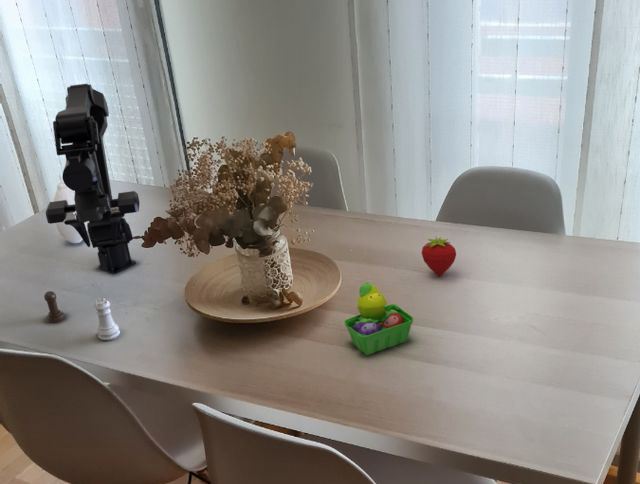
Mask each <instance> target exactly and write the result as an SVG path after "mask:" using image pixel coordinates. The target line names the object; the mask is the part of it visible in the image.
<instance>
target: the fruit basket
mask: <svg viewBox="0 0 640 484" xmlns="http://www.w3.org/2000/svg"><path fill="white" fill-rule="evenodd" d="M387 303H388V302H387V299H386V297H385V296H384V295H383V294H382V293H381V292H380V290H379V288H378V287H377V286H376V285H374V284H371V283H369V282H364V284H361V285H360V286H359V295H358V298H357V305H356V306H357V310H358V313H359V314H357V315H355V316H352V317H350V318H346V319H345V320H343V323H344V326H345V327H346V328H347V330H348V334H349V337H350V339H351V342H352V344H353V345H354V346H355V347H356V348H357V349H358V350H359V351H361V352H362V353H364V355H365V356H370V355H372V354H374V353H376V352H380V351H383V350H386V349H387V348H393V347H394V346H397V345H399V344H403V343H406V342H407V341H408V338H409V333H410V330H411V327H412V325H413V322H414V317H413V316H412V315H411V314H409V313H408V312H407V311H405V310H404V309H403V308H401V307H400V306H399V305H397V304H395V303H392V304H391V303H390V304H388V305H387Z"/></svg>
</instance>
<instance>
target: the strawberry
mask: <svg viewBox="0 0 640 484" xmlns="http://www.w3.org/2000/svg"><path fill="white" fill-rule="evenodd" d="M427 240H428V241H429V242H427V243H426V244H424V246H422V248H421V256H422V259H423V261H424V263H425V264H426V266H427V267H428V268H429V270H431V271H432V272H433V273H434V275H435V276H437V277H441V276H443V275H444V274H445V273H446V272H447V271H448V270H449V269H450V268H451V267H452V265H453V264H454V263H455V260H456V257H457V251H456V247H454V246H453V245H452V244H451V242H450V241H448V240H449V239H446V238H445V239H442V236H440V237H439V238H437V237H435V239H432V238H427Z"/></svg>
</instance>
